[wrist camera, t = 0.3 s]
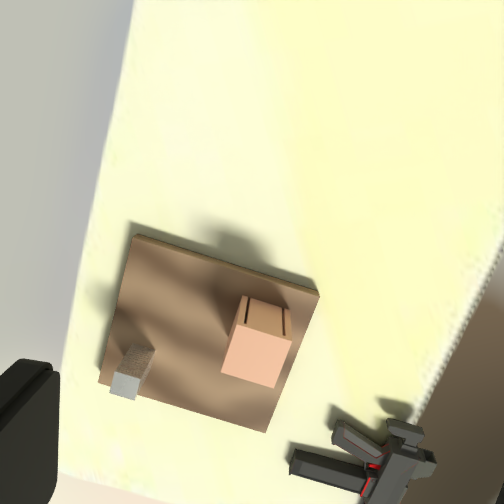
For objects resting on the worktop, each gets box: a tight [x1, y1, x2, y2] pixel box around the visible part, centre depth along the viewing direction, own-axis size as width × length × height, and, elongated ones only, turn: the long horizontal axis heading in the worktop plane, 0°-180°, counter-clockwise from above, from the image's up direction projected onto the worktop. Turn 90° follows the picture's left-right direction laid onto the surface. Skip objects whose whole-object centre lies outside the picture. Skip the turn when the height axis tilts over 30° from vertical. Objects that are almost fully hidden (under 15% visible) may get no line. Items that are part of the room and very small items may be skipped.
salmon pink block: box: [221, 295, 292, 388], centre depth 42 cm, size 5×5×7 cm
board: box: [98, 234, 320, 433], centre depth 47 cm, size 18×20×2 cm
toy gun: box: [289, 418, 437, 504], centre depth 51 cm, size 3×19×15 cm
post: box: [109, 343, 156, 400], centre depth 45 cm, size 3×3×7 cm
